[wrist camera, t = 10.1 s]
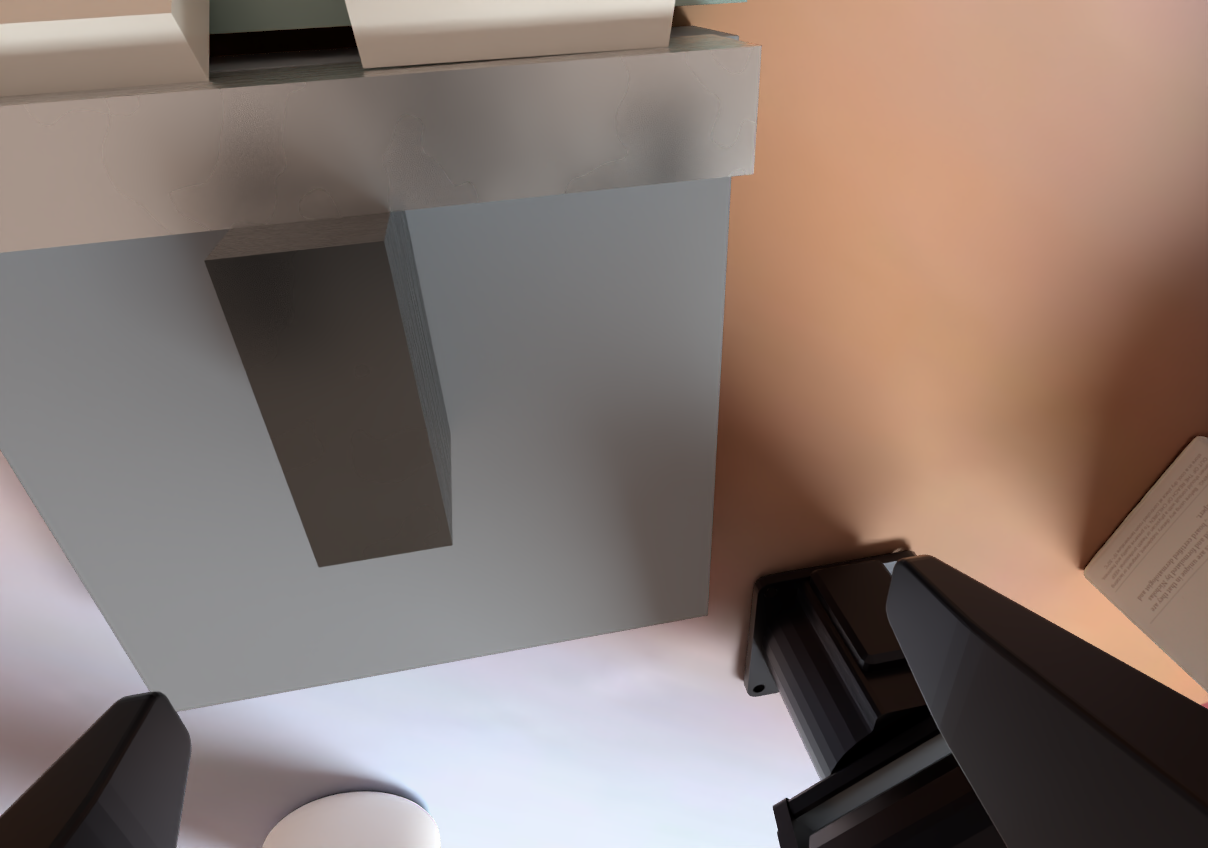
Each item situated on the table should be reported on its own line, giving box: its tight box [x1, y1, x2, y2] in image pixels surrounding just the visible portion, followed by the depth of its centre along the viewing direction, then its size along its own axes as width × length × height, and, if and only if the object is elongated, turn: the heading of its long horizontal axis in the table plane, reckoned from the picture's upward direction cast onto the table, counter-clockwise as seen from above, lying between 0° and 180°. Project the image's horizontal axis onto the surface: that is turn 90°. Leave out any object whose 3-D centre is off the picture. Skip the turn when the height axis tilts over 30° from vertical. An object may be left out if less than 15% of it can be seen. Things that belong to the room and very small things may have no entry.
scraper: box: [0, 34, 762, 568], centre depth 13 cm, size 8×15×4 cm, turn 93°
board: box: [0, 26, 739, 712], centre depth 18 cm, size 16×16×3 cm
